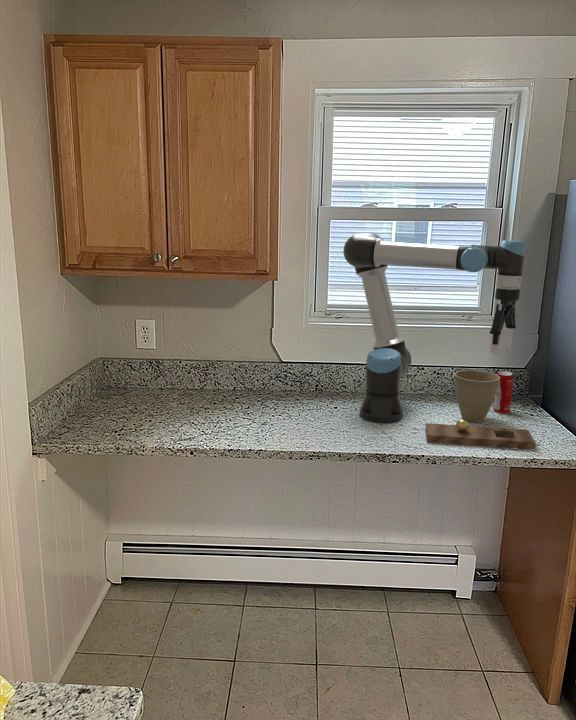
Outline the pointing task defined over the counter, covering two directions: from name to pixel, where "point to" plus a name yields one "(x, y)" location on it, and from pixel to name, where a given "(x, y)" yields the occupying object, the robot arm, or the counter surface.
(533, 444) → the board
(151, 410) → the counter surface
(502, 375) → the beverage can
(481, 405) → the plant pot
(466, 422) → the brass ball
